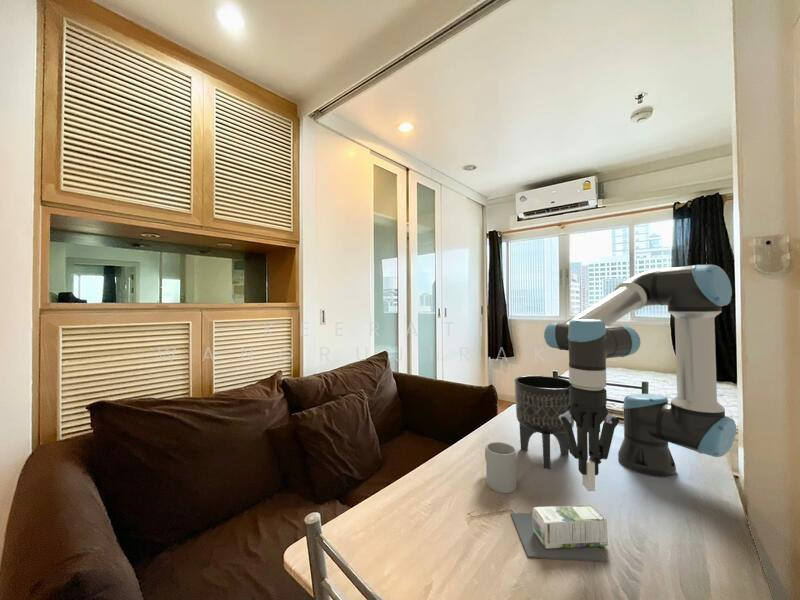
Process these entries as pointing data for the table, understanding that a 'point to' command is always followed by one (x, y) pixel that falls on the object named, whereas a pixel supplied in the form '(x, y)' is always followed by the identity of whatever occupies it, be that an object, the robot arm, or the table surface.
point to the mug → (500, 467)
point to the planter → (542, 411)
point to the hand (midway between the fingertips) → (588, 487)
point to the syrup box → (570, 526)
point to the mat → (538, 550)
